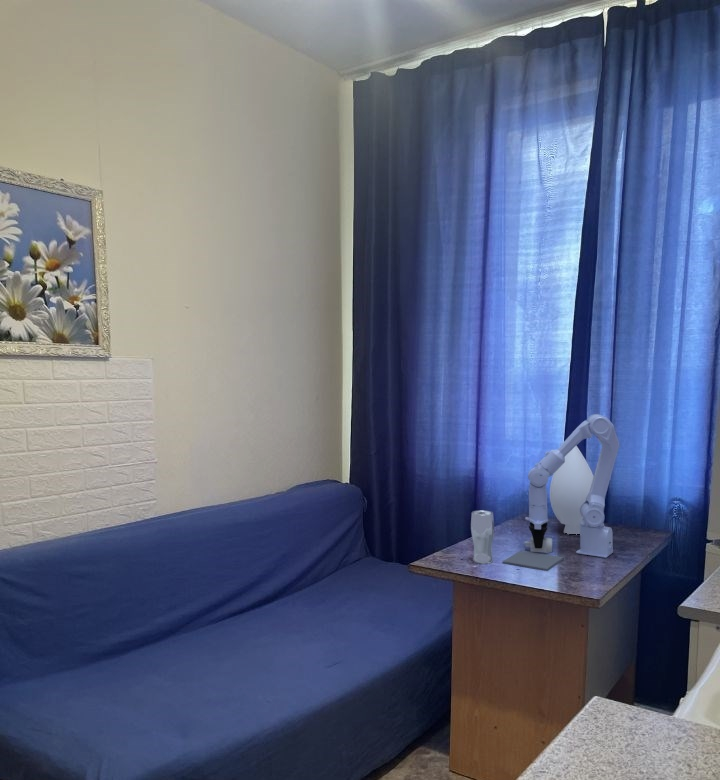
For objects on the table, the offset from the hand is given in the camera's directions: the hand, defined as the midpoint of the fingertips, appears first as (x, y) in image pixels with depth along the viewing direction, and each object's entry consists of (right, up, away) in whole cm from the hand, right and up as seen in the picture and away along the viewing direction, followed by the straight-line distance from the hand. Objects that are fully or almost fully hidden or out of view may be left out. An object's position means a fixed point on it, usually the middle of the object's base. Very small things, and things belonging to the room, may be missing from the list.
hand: (538, 546), depth 208 cm
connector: (0, -1, 0) cm, 1 cm away
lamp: (+19, -1, +22) cm, 29 cm away
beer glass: (-20, -2, -10) cm, 22 cm away
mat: (-5, -2, -11) cm, 12 cm away
